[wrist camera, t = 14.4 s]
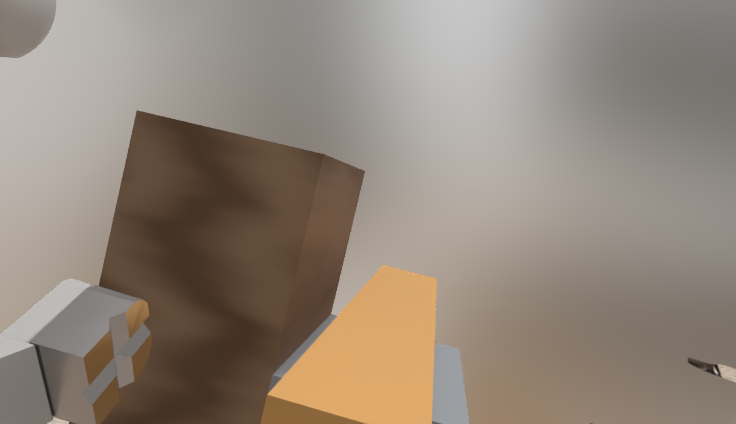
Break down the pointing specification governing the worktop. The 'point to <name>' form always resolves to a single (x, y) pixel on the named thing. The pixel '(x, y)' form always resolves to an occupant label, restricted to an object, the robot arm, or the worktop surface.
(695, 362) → the worktop surface
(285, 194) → the walnut stand
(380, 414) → the orange block
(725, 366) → the worktop surface
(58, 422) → the worktop surface
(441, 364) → the slate block
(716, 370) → the worktop surface
